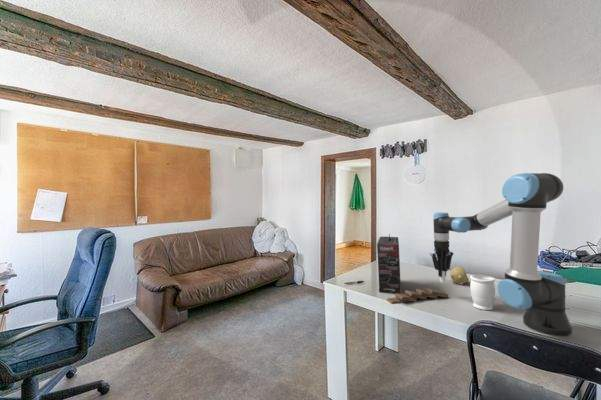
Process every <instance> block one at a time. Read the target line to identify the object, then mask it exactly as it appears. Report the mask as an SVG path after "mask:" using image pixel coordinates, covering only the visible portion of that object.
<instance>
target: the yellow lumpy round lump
mask: <svg viewBox="0 0 601 400" xmlns="http://www.w3.org/2000/svg"><path fill="white" fill-rule="evenodd" d="M449 275H450V278H451V282H452V283H453V284H454V283H456V284H457V285H458V284H459V285H461V286H462V285H464V284H467V283H469V281H470V280H469V278H468V275H467V272H466V270H465V268H464V267H462V266H455V267H453V268H452V269H451V270H450V273H449Z"/></svg>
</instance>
